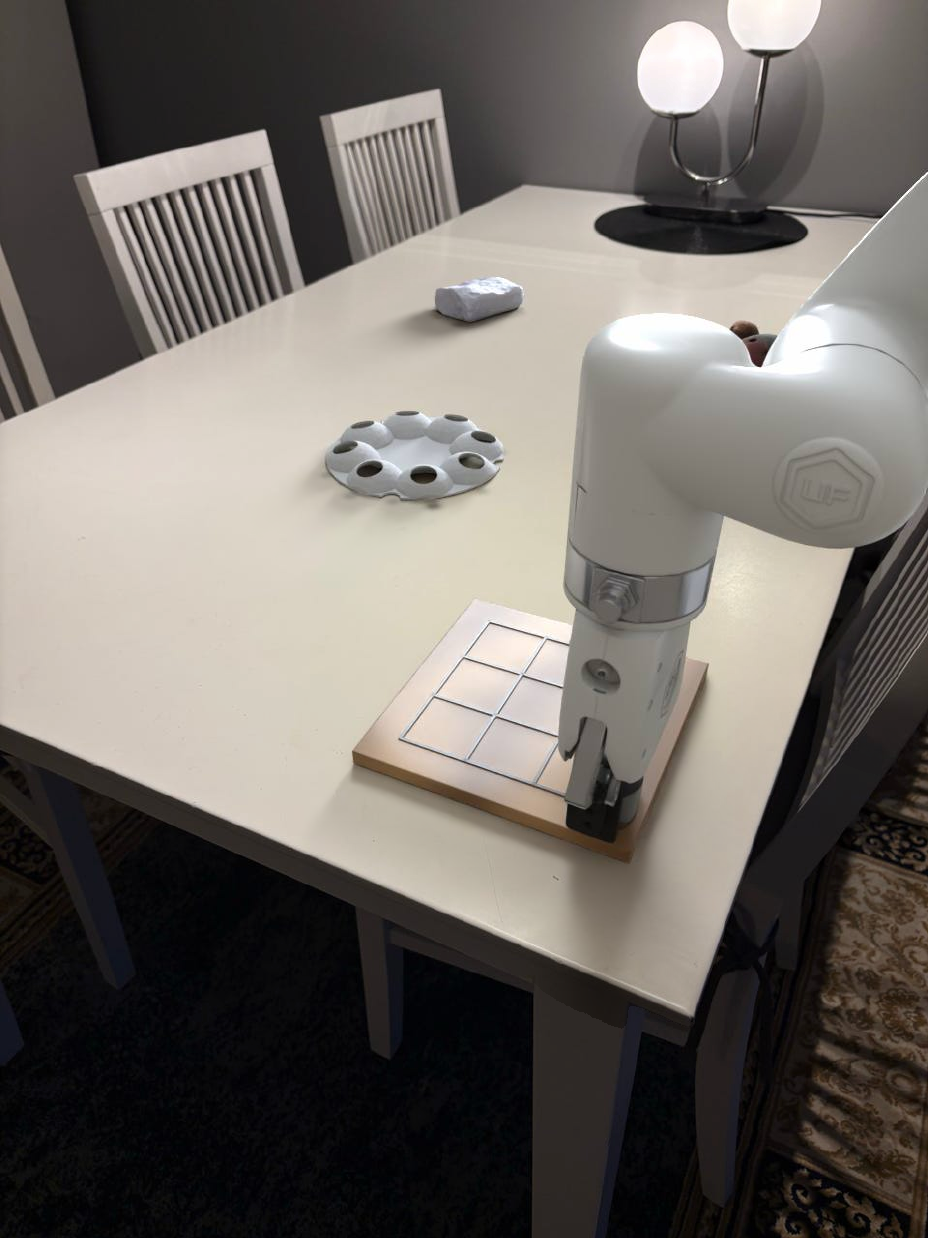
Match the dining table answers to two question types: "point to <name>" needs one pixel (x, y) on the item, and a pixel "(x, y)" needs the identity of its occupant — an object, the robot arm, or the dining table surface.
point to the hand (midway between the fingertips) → (604, 801)
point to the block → (478, 298)
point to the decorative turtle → (753, 340)
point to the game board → (504, 725)
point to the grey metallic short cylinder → (625, 797)
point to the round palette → (414, 455)
